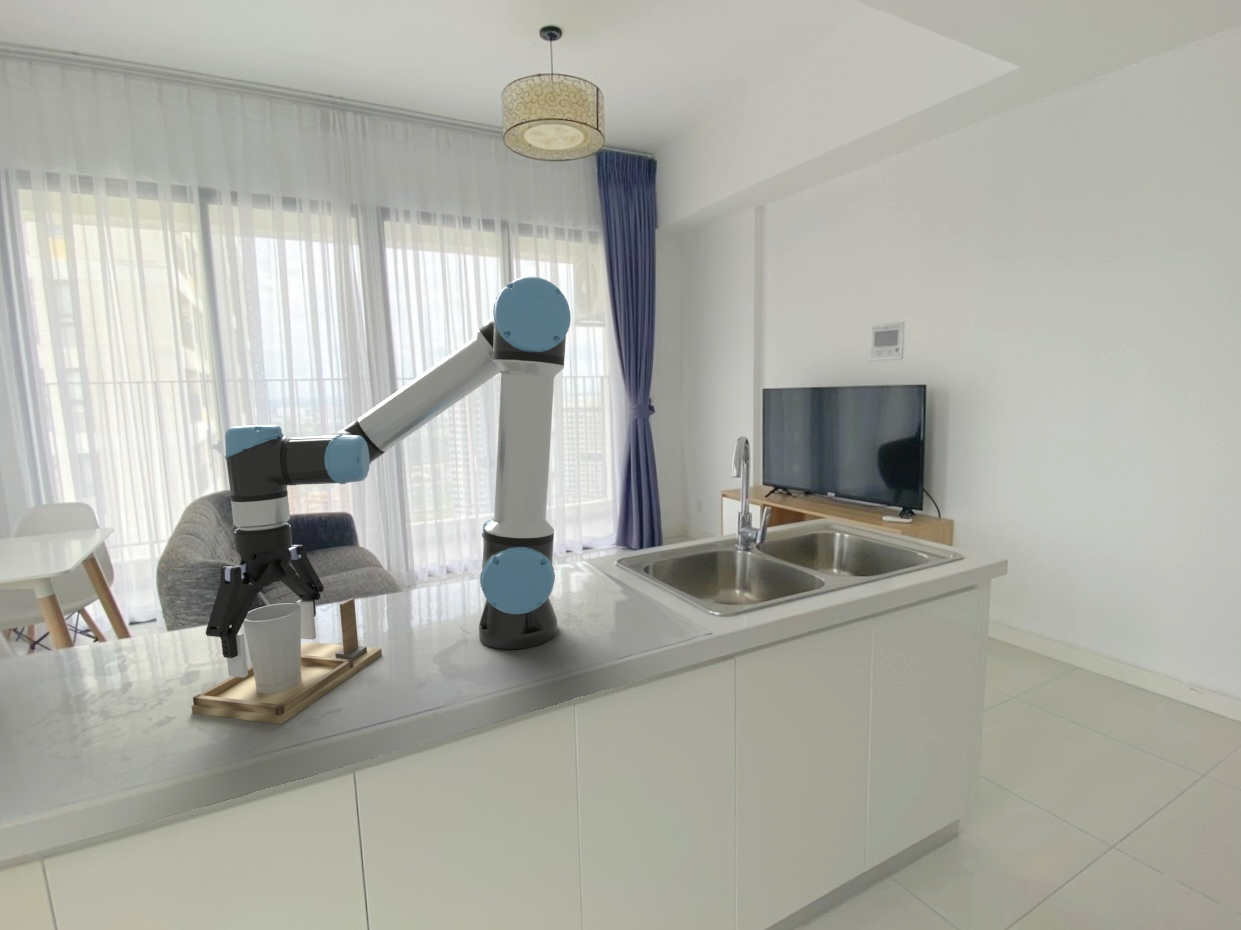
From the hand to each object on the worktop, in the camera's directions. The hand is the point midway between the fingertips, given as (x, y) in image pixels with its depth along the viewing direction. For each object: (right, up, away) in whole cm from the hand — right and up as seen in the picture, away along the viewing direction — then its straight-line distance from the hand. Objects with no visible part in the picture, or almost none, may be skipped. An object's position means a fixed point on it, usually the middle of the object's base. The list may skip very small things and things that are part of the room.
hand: (275, 655), depth 92 cm
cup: (0, -5, +1) cm, 5 cm away
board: (+1, -6, +4) cm, 7 cm away
